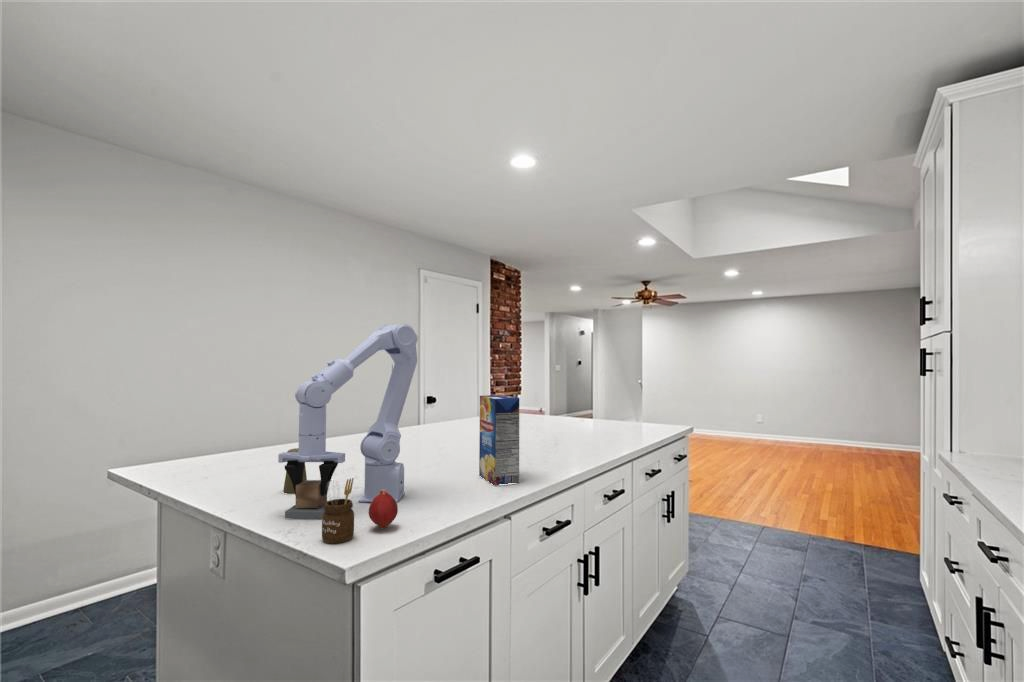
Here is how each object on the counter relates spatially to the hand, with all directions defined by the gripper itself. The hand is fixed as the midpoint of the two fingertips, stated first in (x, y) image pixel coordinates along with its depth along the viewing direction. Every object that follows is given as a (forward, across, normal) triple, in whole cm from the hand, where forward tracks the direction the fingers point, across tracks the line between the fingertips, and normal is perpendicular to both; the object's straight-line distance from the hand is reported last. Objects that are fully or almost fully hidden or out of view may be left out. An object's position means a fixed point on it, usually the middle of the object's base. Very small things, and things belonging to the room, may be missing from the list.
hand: (311, 494), depth 109 cm
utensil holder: (+4, +12, -15) cm, 20 cm away
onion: (+4, +19, -9) cm, 21 cm away
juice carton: (+4, +41, +31) cm, 52 cm away
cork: (+4, -12, +18) cm, 22 cm away
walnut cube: (+2, 0, 0) cm, 2 cm away
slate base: (+4, 0, 0) cm, 4 cm away
